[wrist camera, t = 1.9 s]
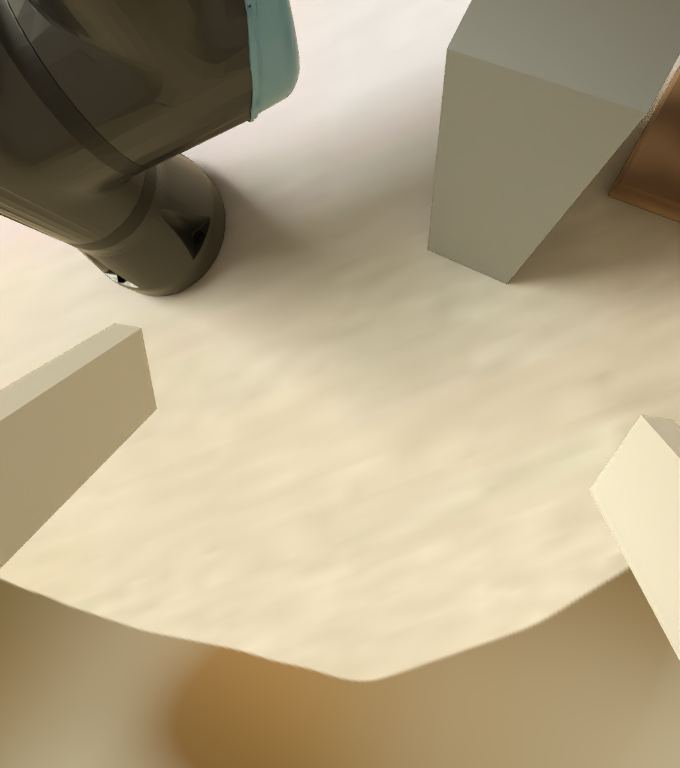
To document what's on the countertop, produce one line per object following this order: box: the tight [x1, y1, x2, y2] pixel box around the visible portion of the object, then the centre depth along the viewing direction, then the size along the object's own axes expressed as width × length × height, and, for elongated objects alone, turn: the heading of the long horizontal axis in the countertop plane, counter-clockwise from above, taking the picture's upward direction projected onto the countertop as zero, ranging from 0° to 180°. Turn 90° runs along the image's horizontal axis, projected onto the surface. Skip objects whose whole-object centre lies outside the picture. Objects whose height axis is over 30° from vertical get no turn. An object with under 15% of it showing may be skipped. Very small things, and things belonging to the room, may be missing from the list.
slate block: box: [428, 0, 680, 284], centre depth 24 cm, size 17×8×21 cm, turn 152°
